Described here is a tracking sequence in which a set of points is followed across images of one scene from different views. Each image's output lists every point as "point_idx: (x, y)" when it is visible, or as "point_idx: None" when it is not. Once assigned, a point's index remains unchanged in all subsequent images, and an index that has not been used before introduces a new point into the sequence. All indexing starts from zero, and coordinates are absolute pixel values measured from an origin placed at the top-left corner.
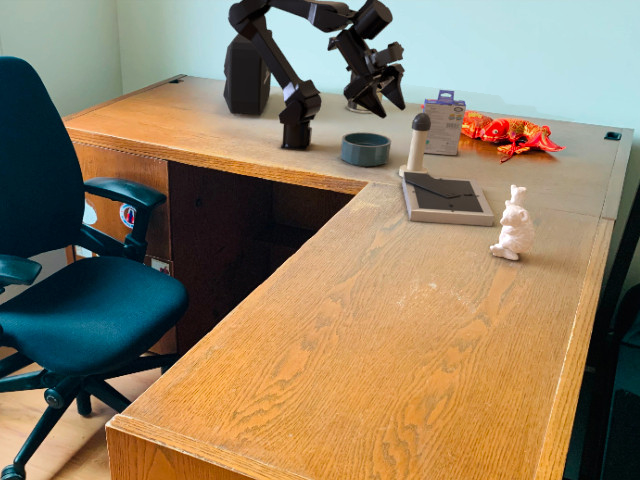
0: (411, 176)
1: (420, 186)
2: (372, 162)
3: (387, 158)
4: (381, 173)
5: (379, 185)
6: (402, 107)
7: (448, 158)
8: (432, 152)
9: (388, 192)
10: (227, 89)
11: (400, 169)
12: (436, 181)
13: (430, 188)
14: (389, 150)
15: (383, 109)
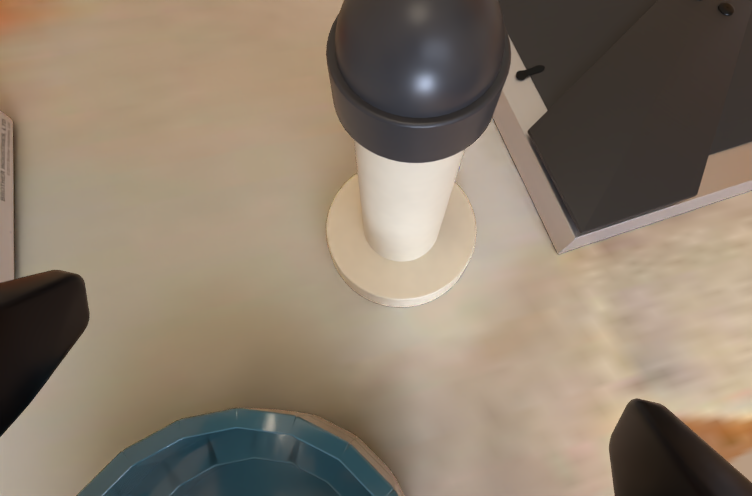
0: (627, 181)
1: (717, 119)
2: (396, 481)
3: (283, 410)
4: (457, 394)
5: (644, 351)
6: (66, 312)
7: (61, 145)
8: (11, 222)
9: (708, 283)
10: None
11: (444, 288)
12: (605, 73)
13: (714, 77)
14: (256, 408)
15: (718, 472)
